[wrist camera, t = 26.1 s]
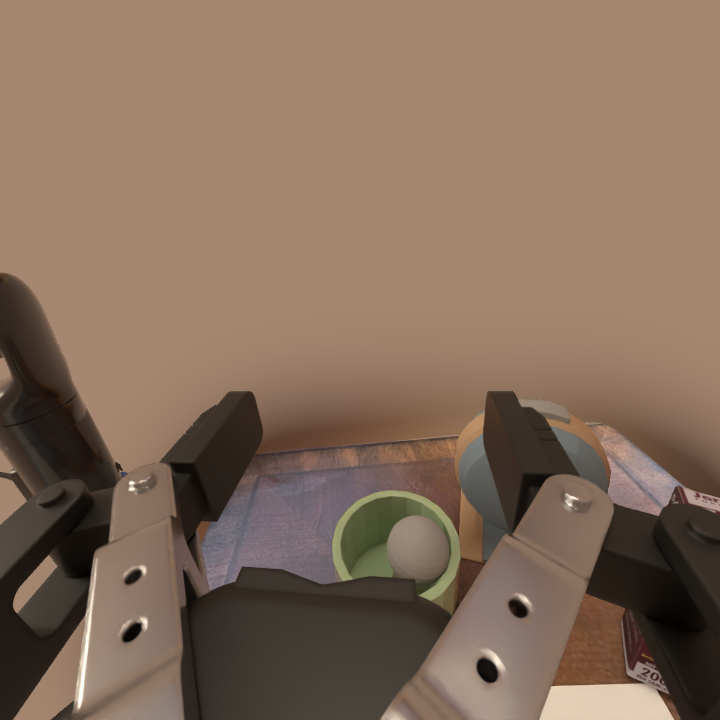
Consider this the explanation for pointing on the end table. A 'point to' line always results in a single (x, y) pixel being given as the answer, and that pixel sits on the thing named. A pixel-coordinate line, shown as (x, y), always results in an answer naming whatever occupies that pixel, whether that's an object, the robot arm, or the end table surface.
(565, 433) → the alarm clock
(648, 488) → the end table surface
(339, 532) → the pot
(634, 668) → the supplement box
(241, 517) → the end table surface
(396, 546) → the light bulb
